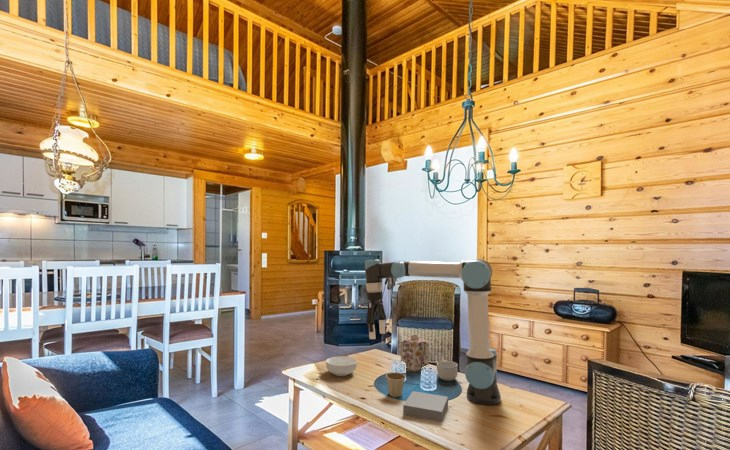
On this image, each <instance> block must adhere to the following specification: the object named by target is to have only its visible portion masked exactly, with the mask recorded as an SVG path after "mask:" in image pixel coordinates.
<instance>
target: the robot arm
mask: <svg viewBox="0 0 730 450" xmlns="http://www.w3.org/2000/svg"><path fill="white" fill-rule="evenodd" d="M364 271H365V272H364V273H365V282H366V285H365V288H366V292H367V293H366V297H367V298H366V299H367V301H370V302H367V311H366V312H367V313H366V323H365V324H366V326H368V335H369V336H368V337H369V340H376V338H377V337H376V328H375V319H376V314H377V316H378V317H377V318H378V324H379V334H380V335H381V334H382V335H383V334H384V335H385V334H386V323H385V321H386V320H387V315H386V310H385V307H384V304H383V303H384V302H383V298H384V297H383V295H384V294H383V291H382V290H383V285H382V279H399V278H404V277H420V278H422V277H423V278H441V279H442V278H443V279H460V280H461V281H462V282H463V292H464V293H465V294H466V295H467V314H468V315H467V317H468V318H467V320H468V343H469V344H468V345H469V346H468V347H469V349H468V350H467V351H466V353H465V356H466V357H465V359H466V361H465V362H466V365H465V370H464V374H465V379H466V380H467V382H468V386H467V389H466V398H467V399H468V401H471V402H473V403H475V404H479V405H483V406H495V405H498V404H499V403H501V400H502V399H501V398H502V396H501V392H500V389H499V386H498V380H497V379H498V378H497V377H498V376H497V375H498V363H497V362H498V361H497V360H498V352H497V350H496V349H493V348H492V347H491V346H490V345H491V343H490V319H489V317H490V316H489V294H490V293H491V292H492V276H493V268H492V266H491V264H490V263H489V262H487V261H486V260H484V259H480V258H479V259H478V258H477V259H471V260H461V261H460V262H453V261H452V262H447V261H446V262H445V261H444V262H443V261H406V260H398V261H392V262H381V260H380V259H368V260H365V262H364Z"/></svg>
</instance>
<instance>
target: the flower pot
mask: <svg viewBox="0 0 730 450" xmlns="http://www.w3.org/2000/svg"><path fill="white" fill-rule="evenodd" d="M385 378H386V380H387V388H388V389H387V390H388V395H390V396H391V397H393V398H394V397H395V398H396V397H401V396H403V388H404V383H405V380H406V378H407V377H406V374H404V373H401V372H390V373H386V375H385Z"/></svg>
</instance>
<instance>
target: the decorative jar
mask: <svg viewBox="0 0 730 450" xmlns="http://www.w3.org/2000/svg"><path fill="white" fill-rule="evenodd" d="M429 346H430V345H429V343H428V342H427V341H426V339H424V338H422V337H420V336H419V335H418V334H411V335H410V336H408V337H405V338H404V339H403V340H402V341H401V343H400V362H401V361H403V362H405V363H406V367H407V368H406V369H408V370H409V371H412V372H417V371H422V370H421V368H422V367H424V366H426V365H428V366H429V357H430V355H429V354H430V351H429Z"/></svg>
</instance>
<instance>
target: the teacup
mask: <svg viewBox="0 0 730 450" xmlns="http://www.w3.org/2000/svg"><path fill="white" fill-rule="evenodd" d="M458 365H459V364H458V363H457V362H455V361H452V360H451V361H449V360H446V359H443V360H441V361H438V362H437V363H436V371H437V375H438V377H439V378H440V379H441V380H442V381H446V382H452V381H454V380H455V379H457V377H458V372H459V371H458Z"/></svg>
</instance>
